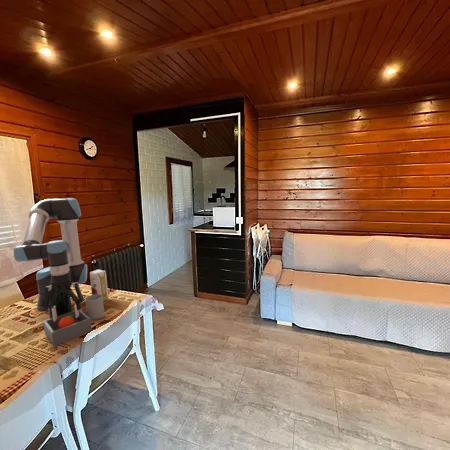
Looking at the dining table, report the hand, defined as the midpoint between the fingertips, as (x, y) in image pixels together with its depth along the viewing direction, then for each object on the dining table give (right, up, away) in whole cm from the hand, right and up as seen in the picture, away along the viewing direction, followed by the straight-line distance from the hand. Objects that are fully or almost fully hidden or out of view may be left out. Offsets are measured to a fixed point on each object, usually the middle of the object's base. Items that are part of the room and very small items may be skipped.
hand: (66, 318), depth 122 cm
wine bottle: (-11, -6, +13) cm, 18 cm away
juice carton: (-1, -3, +37) cm, 37 cm away
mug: (+5, -5, +18) cm, 19 cm away
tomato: (+1, -6, +1) cm, 7 cm away
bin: (0, -7, +1) cm, 7 cm away
